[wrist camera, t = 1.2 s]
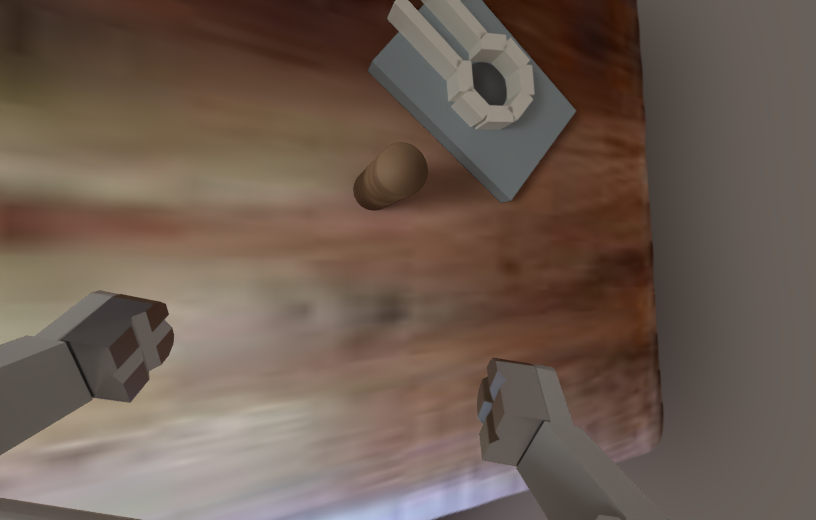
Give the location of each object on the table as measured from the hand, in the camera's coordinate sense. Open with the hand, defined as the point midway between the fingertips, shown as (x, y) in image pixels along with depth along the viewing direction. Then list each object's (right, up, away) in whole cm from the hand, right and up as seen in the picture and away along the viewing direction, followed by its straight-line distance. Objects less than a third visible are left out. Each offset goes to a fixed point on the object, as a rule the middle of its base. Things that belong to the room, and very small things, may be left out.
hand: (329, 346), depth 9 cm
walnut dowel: (-2, +9, +29) cm, 30 cm away
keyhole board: (+9, +20, +32) cm, 39 cm away
